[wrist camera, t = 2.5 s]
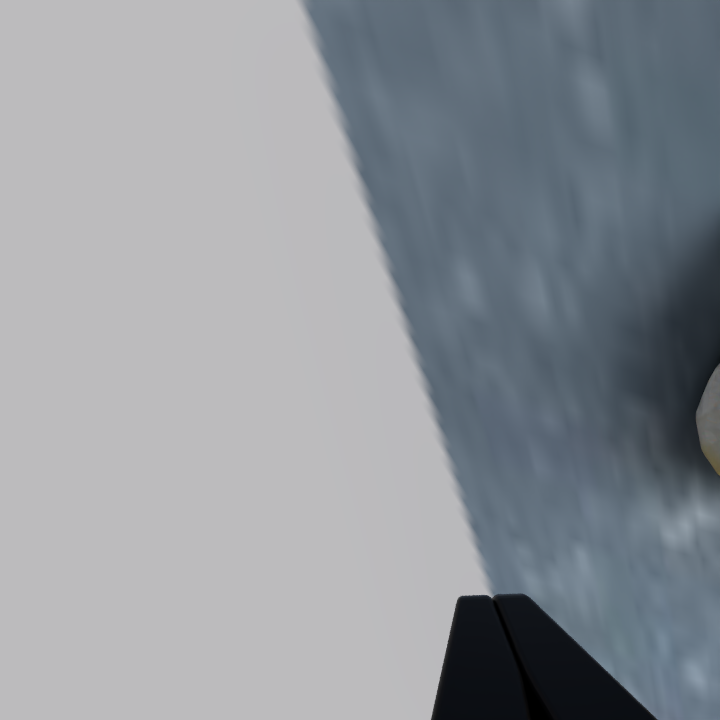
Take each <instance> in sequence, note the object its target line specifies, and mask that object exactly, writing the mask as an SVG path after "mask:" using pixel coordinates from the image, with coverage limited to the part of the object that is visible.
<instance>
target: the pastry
mask: <svg viewBox="0 0 720 720" xmlns="http://www.w3.org/2000/svg"><path fill="white" fill-rule="evenodd" d="M696 424H697V429H698V434H699V440H700V445H701V449H702V452H703V453H704V455H705V456H706V458H707V459H708V461H709V462H710V463H711V465H712V466H713V468H714V469H715V471H716V472H717V474H718V475H719V476H720V363H719V365H718V366H717V367H716V369H715V370H714V372H713V374H712V375H711V377H710V379H709V381H708V383H707V386H706V388H705V390H704V393H703V395H702V398H701V401H700V403H699V406H698V409H697V411H696Z"/></svg>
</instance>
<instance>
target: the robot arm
mask: <svg viewBox="0 0 720 720" xmlns="http://www.w3.org/2000/svg"><path fill="white" fill-rule="evenodd" d="M431 720H657V719H656V718H655V717H654V716H653V715H652V714H651V713H650V712H649V711H648V710H647V709H646V708H645V707H644V706H643V705H642V704H641V703H640V702H638V701H637V700H636V699H635V698H634V697H633V696H632V695H631V694H630V693H629V692H628V691H627V690H626V689H625V688H624V687H623V686H622V685H621V684H620V683H619V682H618V681H617V680H615V679H614V678H613V677H612V676H611V675H610V674H609V673H608V672H607V671H606V670H605V669H604V668H603V667H602V666H601V665H600V664H599V663H598V662H597V661H596V660H595V659H594V658H592V657H591V656H590V655H589V654H588V653H587V652H586V651H585V650H584V649H583V648H582V647H581V646H580V645H579V644H578V643H577V642H576V641H575V640H574V639H573V638H572V637H571V636H569V635H568V634H567V633H566V632H565V631H564V630H563V629H562V628H561V627H560V626H559V625H558V624H557V623H556V622H555V621H554V620H553V619H552V618H551V617H550V616H549V615H548V614H546V613H545V612H544V611H543V610H542V609H541V608H540V607H539V606H538V605H537V604H536V603H535V602H534V601H533V600H532V599H531V598H530V597H528V596H527V595H525V594H498V595H495V596H494V597H493V598H491V597H489V596H488V595H473V596H461V597H459V598H458V600H457V604H456V608H455V612H454V617H453V622H452V626H451V630H450V635H449V640H448V644H447V649H446V654H445V658H444V663H443V667H442V672H441V677H440V681H439V686H438V690H437V695H436V700H435V704H434V709H433V714H432V718H431Z"/></svg>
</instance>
